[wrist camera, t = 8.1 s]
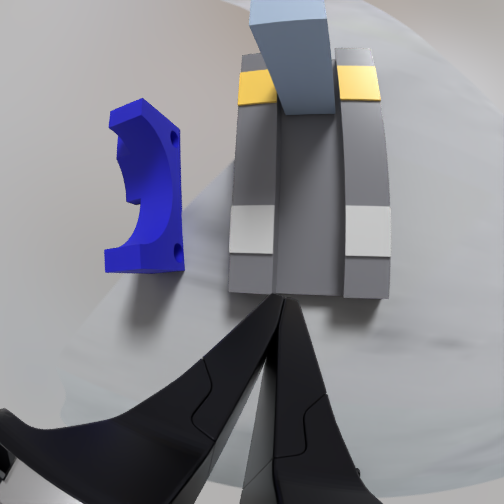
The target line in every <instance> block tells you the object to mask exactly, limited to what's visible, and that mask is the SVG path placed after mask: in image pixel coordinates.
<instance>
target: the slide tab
mask: <svg viewBox="0 0 504 504" xmlns="http://www.w3.org/2000/svg"><path fill="white" fill-rule="evenodd" d="M249 26H250V29H251V31H252V33H253V36H254V38H255V40H256V42H257V44H258V47H259V49H260V52H261V54H262V57H263V59H264V61H265V64H266V66H267V69H268V71H269V74H270V76H271V79H272V81H273V84H274V86H275V89H276V91H277V94H278V96H279V99H280V102H281V104H282V107H283V110H284V112H285V115H302V114H336V113H335V97H334V83H333V71H332V60H331V50H330V41H329V32H328V24H327V17H326V10H325V4H324V0H251V6H250V19H249Z"/></svg>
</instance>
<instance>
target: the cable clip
mask: <svg viewBox="0 0 504 504" xmlns="http://www.w3.org/2000/svg"><path fill="white" fill-rule="evenodd" d="M109 128H110V129H111V130H112V131H114V132H115V133H116V134H117V135H118V144H117V161H118V163H119V166H120V168H121V171H122V175H123V178H124V183H125V189H126V201H127V202H129V203H132V204H134V205H139V204H140V213H139V218H138V222H137V225H136V228H135V230H134V232H133V234H132V236H131V237H130V238H129V240H128V241H127V242H126V243H125V244H123V245H122V246H120V247H118V248H112V249H106V250H104V254H105V272H106V273H144V274H154V273H165V272H175V271H185V266H184V252H183V236H182V217H181V212H182V191H181V155H180V154H181V150H180V129H179V128H178V127H176V126H175V125H174V124H173V123H172V122H171V121H169V120H168V119H167V118H166V117H165V116H164V115H162V114H161V113H160V112H159V111H158V110H156V109H155V108H154V107H153V106H152V105H151V104H149V103H148V102H147V101H146V100H144V99H143V98H141V99H139V100H136V101H134V102H131V103H129V104H126V105H124V106H122V107H119V108H117V109H115V110H113V111H111V112H110V121H109Z"/></svg>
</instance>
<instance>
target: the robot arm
mask: <svg viewBox="0 0 504 504" xmlns="http://www.w3.org/2000/svg"><path fill="white" fill-rule="evenodd" d="M265 360H266V361H265ZM264 362H265V365H264ZM263 365H264V370H263V376H262V382H261V388H260V394H259V400H258V406H257V412H256V418H255V423H254V429H253V435H252V440H251V446H250V451H249V457H248V462H247V468H246V473H245V478H244V484H243V490H242V494H241V499H240V504H383V503H382V502H381V501H379V500H378V499H377V498H376V497H375V496H374V495H373V494H372V493H371V492H370V491H369V490H368V489H367V488H366V486H365V485H364V483H363V482H362V480H361V478H360V470H359V469H358V468H355V465H354V463H353V461H352V458H351V456H350V454H349V452H348V449H347V447H346V445H345V442H344V440H343V438H342V435H341V433H340V430H339V428H338V425H337V423H336V420H335V417H334V414H333V411H332V408H331V405H330V401H329V398H328V395H327V394H326V388H325V385H324V381H323V378H322V375H321V371H320V368H319V365H318V362H317V358H316V355H315V352H314V348H313V345H312V342H311V339H310V336H309V332H308V329H307V326H306V323H305V320H304V316H303V313H302V310H301V307H300V304H299V301H298V300H295V299H291V298H288V297H286V298H285V299H284V297H283V296H281V295H277V294H274V293H271V294H270V295H269V296H268V297H266V298H265V299H264V300H263V301H262V302H261V303H260V304H259V305H258V306H257V307H256V308H255V309H254V310H253V311H252V312H251V313H250V314H249V315H248V316H247V317H246V318H244V319H243V320H242V321H241V322H240V323H239V324H238V325H237V326H236V327H235V328H234V329H233V330H232V331H231V332H230V333H228V334H227V335H226V336H225V337H224V338H223V339H222V340H221V341H220V342H219V343H218V344H217V345H215V346H214V347H213V348H212V349H211V350H210V351H209V352H208V353H207V354H206V355H205V356H203V359H200V360H199V361H198V362H197V363H196V364H194V365H193V366H192V367H191V368H190V369H189V370H187V371H186V372H185V373H184V374H183V375H181V376H180V377H179V378H177V379H176V380H175V381H173V382H172V383H170V384H169V385H168V386H166V387H165V388H163V389H162V390H160V391H159V392H157V393H156V394H154V395H152V396H151V397H149V398H148V399H146V400H145V401H143V402H141V403H140V404H138V405H137V406H135V407H134V408H132V409H130V410H129V411H127V412H125V413H123V414H121V415H119V416H117V417H114V418H111V419H107V420H103V421H98V422H93V423H87V424H82V425H76V426H70V427H63V428H57V429H37V428H34V427H31V426H29V425H27V424H25V423H24V422H23V421H21V420H20V419H19V418H17V417H16V416H15V415H14V414H13V413H11V412H10V411H9V410H7V409H5V408H3V409H0V504H194V503H195V501H196V499H197V497H198V495H199V493H200V492H201V490H202V488H203V486H204V484H205V482H206V481H207V479H208V477H209V475H210V473H211V471H212V469H213V467H214V466H215V464H216V462H217V460H218V458H219V456H220V454H221V452H222V450H223V448H224V446H225V444H226V442H227V440H228V438H229V436H230V434H231V432H232V430H233V428H234V426H235V424H236V422H237V420H238V418H239V416H240V414H241V412H242V410H243V408H244V406H245V404H246V402H247V400H248V398H249V396H250V393H251V391H252V389H253V387H254V385H255V383H256V381H257V379H258V376H259V374H260V372H261V370H262V367H263Z"/></svg>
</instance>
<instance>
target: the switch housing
mask: <svg viewBox="0 0 504 504" xmlns="http://www.w3.org/2000/svg"><path fill="white" fill-rule="evenodd" d="M335 58H336V60H332V71H333V83H334V97H335V113H336V114H302V115H285V112H284V110H283V107H282V104H281V102H280V99H279V96H278V94H277V91H276V89H275V86H274V84H273V81H272V79H271V76H270V74H269V71H268V69H267V66H266V64H265V61H264V59H263V57H262V54H261V53H256V54H248V55H242V66H241V73H240V80H239V93H238V121H237V135H236V151H235V167H234V184H233V203H232V206H231V221H230V241H229V253H230V265H229V289H228V292H238V293H254V294H271V293H274V294H275V293H285V294H306V295H332V296H343V297H344V298H377V299H389V287H390V257H391V207H390V194H389V177H388V163H387V151H386V141H385V132H384V124H383V116H382V108H381V98H380V92H379V86H378V80H377V74H376V69H375V66H374V61H373V56H372V51H371V49H367V48H335Z"/></svg>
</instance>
